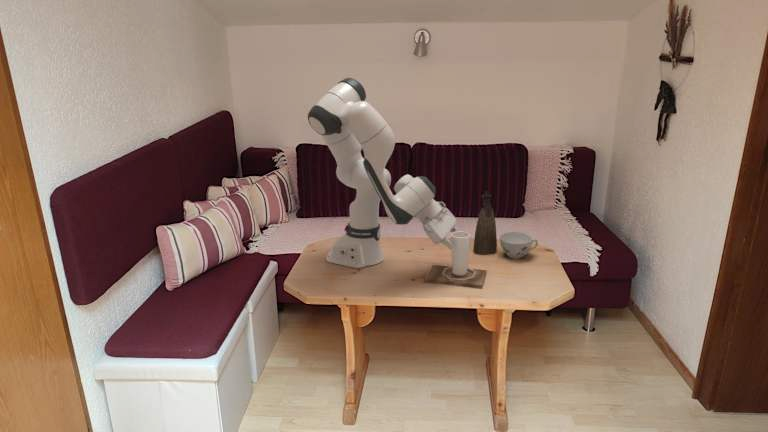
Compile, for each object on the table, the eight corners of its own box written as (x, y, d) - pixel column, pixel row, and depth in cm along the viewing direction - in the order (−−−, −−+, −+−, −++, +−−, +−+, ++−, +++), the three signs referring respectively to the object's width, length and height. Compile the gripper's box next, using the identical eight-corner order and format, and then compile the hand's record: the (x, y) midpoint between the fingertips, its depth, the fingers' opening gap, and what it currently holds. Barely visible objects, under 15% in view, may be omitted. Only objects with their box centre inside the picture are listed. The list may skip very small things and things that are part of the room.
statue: (483, 246, 223) (487, 188, 214) (498, 251, 218) (504, 192, 209) (470, 252, 217) (474, 193, 208) (486, 258, 212) (491, 197, 203)
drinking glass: (468, 277, 192) (470, 238, 187) (449, 276, 193) (450, 237, 188) (469, 270, 198) (470, 231, 193) (450, 269, 199) (451, 230, 194)
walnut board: (424, 282, 192) (424, 276, 191) (432, 267, 204) (432, 262, 203) (481, 288, 186) (482, 283, 186) (486, 273, 198) (486, 268, 197)
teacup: (503, 262, 207) (504, 243, 204) (495, 250, 219) (496, 231, 216) (542, 261, 207) (543, 241, 205) (532, 249, 219) (533, 230, 217)
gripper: (427, 217, 182) (454, 248, 181) (444, 200, 200) (469, 228, 199) (414, 228, 185) (441, 258, 185) (432, 210, 203) (457, 238, 202)
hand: (456, 243), depth 192 cm, fingers open, 8 cm apart
